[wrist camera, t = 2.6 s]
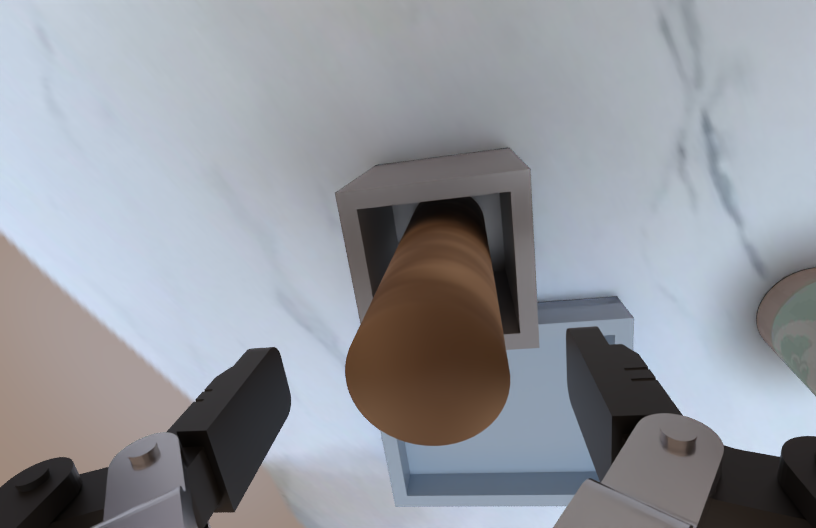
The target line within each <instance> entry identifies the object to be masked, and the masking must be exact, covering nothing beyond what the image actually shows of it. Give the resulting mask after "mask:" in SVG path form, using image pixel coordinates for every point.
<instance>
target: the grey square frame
mask: <svg viewBox="0 0 816 528" xmlns="http://www.w3.org/2000/svg"><path fill="white" fill-rule="evenodd" d="M335 196H336V201H337V206H338V211H339V216H340V221H341V227H342V232H343V237H344V242H345V247H346V252H347V257H348V262H349V267H350V272H351V278H352V283H353V288H354V293H355V298H356V303H357V308H358V313H359V318H360V323H362V321H363V318H364V316H365V314H366V312H367V310H368V308H369V306H370V304H371V302H372V299H373V297H374V295H375V293H376V291H377V289H378V287H379V285H380V283H381V281H382V278H383V276H384V274H385V272H386V270H387V268H388V266H389V264H390V262H391V259H392V257H393V255H394V253H395V251H396V249H397V247H398V245H399V243H400V241H401V238H402V236H403V234H404V232H405V230H406V228H407V226H408V224H409V222H410V219H411V217H412V215H413V213H414V211H415V209H416V207H417V206H418V204H419V203H420V202H425V201H434V200H442V199H451V198H459V197H468V196H470V197H471V198H473V199H474V200H475V201H476V202H477V204H478V205H479V207H480V208H481V210H482V212H483V216H484V220H485V226H486V232H487V238H488V244H489V250H490V256H491V262H492V268H493V274H494V280H495V286H496V292H497V298H498V304H499V310H500V316H501V322H502V328H503V334H504V340H505V346H506V350H514V349H530V348H540V346H539V327H538V308H537V289H536V270H535V251H534V232H533V213H532V194H531V175H530V168H529V167H528V166H527V165H526V164H525V163H524V162H523V161H522V160H521V159H520V158H519V157H518V156H517V155H516V154H515V153H514V152H513V151H512V150H511V149H510V148H503V149H495V150H488V151H480V152H473V153H465V154H458V155H450V156H442V157H435V158H427V159H420V160H412V161H405V162H397V163H390V164H382V165H376V166H374V167H373V168H371V169H370V170H368V171H367V172H365V173H364V174H362V175H361V176H359V177H358V178H356V179H355V180H353V181H352V182H350V183H349V184H348V185H346V186H345V187H343V188H342V189H340V190H339V191H337V192H336V193H335Z"/></svg>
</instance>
